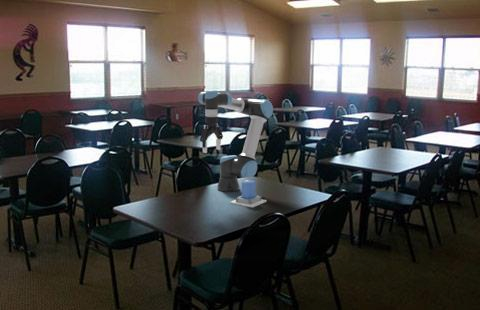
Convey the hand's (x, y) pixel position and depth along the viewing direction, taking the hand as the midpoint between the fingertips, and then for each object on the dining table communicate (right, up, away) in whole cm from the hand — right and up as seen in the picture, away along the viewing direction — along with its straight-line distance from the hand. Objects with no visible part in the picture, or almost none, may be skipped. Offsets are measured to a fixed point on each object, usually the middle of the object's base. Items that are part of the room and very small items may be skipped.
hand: (211, 151), depth 300 cm
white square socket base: (+22, -32, +4) cm, 39 cm away
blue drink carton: (+22, -31, +3) cm, 38 cm away
